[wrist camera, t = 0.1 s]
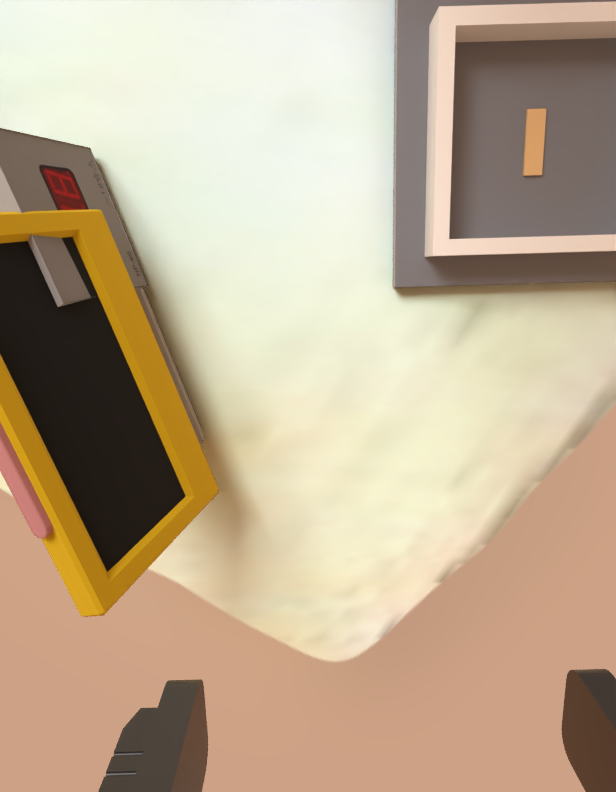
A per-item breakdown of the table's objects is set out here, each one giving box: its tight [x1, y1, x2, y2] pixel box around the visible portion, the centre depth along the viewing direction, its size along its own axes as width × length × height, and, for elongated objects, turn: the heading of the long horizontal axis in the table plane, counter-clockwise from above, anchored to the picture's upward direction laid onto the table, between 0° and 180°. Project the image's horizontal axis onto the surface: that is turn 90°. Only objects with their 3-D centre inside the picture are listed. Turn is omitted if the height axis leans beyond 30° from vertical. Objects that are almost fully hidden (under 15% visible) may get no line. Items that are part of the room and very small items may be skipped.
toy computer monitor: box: [0, 209, 219, 617], centre depth 32 cm, size 20×8×16 cm, turn 19°
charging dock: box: [393, 0, 616, 287], centre depth 35 cm, size 18×18×4 cm
